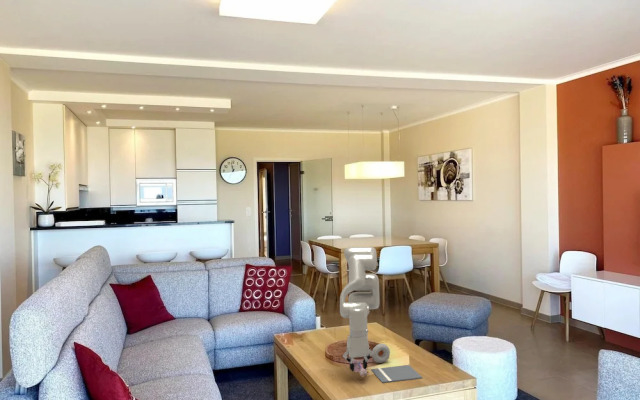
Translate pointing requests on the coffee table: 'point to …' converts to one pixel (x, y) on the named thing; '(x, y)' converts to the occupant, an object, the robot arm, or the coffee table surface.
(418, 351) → the coffee table surface
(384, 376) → the mat
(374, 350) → the donut
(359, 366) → the rabbit figure
